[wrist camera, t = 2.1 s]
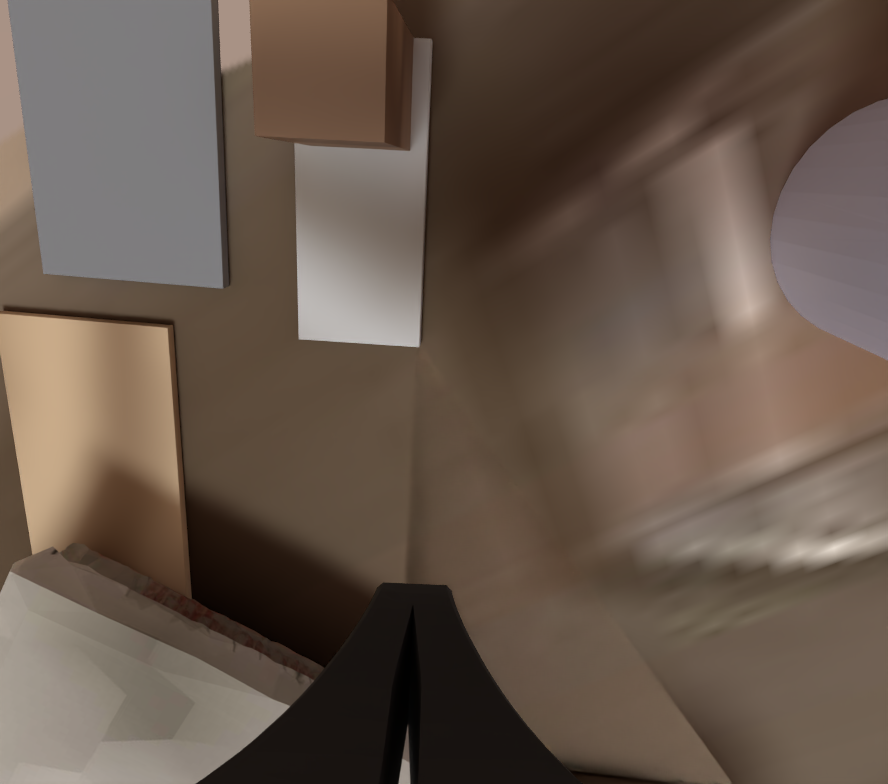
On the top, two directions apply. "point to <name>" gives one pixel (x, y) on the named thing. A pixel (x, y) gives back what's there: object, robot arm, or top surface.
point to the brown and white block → (350, 159)
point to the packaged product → (129, 677)
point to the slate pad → (125, 137)
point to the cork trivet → (99, 439)
